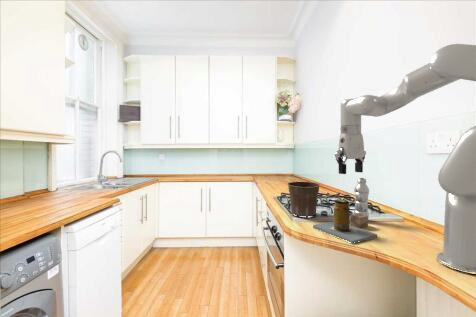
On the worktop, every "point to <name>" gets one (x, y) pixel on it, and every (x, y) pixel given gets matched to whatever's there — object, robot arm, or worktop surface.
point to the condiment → (342, 217)
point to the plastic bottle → (361, 197)
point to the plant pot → (303, 198)
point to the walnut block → (359, 220)
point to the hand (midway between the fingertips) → (350, 173)
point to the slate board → (351, 237)
